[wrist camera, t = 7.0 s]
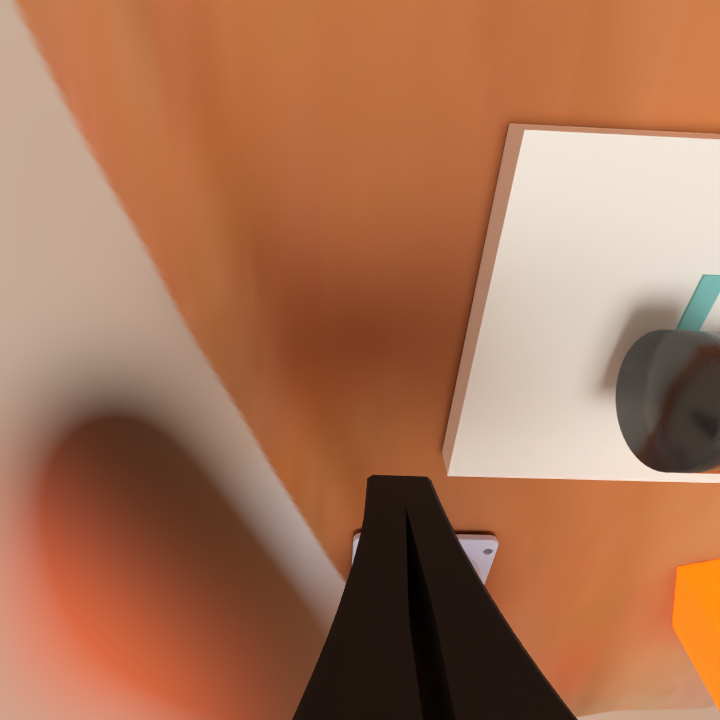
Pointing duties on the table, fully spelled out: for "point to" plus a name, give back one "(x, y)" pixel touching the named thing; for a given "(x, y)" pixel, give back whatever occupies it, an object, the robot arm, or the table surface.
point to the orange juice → (700, 619)
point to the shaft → (672, 401)
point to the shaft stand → (581, 295)
